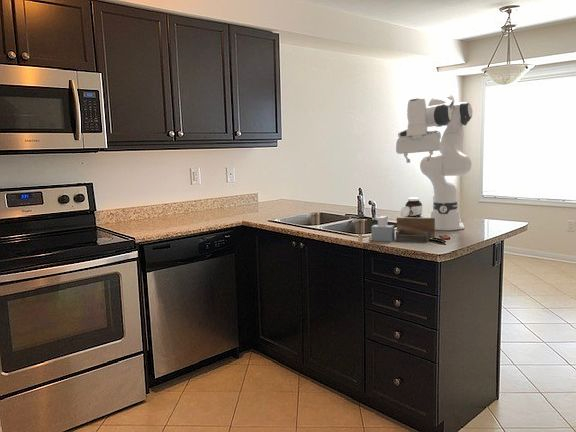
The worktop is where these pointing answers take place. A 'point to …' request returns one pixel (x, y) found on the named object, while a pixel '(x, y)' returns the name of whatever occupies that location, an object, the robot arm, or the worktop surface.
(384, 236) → the grey stepped block
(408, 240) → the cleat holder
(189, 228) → the worktop surface
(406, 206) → the spread jar
